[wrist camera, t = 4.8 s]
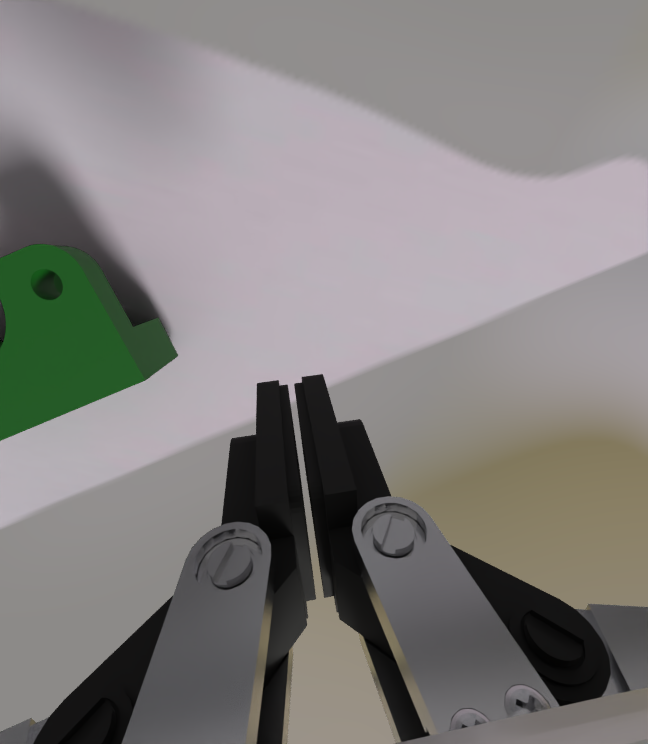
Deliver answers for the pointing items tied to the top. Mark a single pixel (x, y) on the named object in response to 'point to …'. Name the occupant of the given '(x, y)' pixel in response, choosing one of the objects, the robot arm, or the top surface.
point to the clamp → (66, 337)
